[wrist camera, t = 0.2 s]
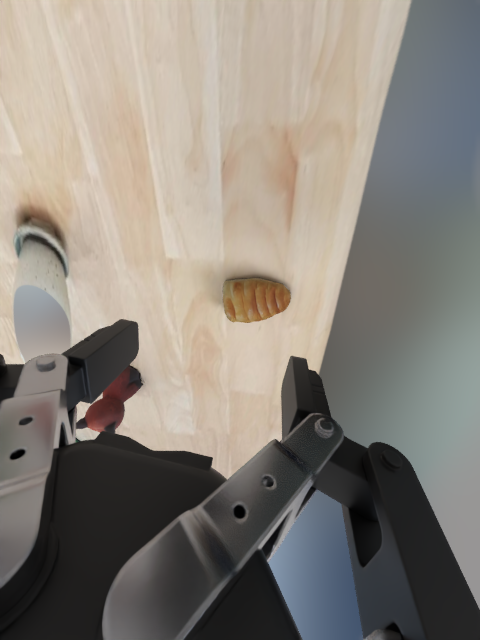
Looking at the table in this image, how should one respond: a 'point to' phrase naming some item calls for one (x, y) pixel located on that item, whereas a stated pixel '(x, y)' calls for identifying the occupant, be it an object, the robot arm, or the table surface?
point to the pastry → (254, 299)
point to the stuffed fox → (112, 403)
